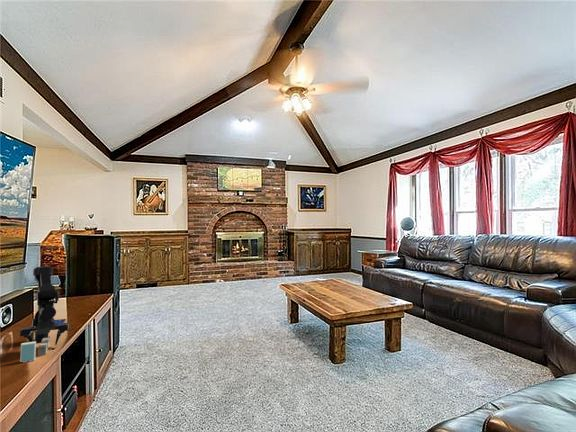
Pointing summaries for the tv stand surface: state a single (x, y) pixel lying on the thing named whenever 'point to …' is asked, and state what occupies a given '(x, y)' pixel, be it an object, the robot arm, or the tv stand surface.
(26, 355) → the tile
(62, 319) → the smartphone
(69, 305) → the tv stand surface
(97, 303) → the tv stand surface
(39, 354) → the curved white panel
